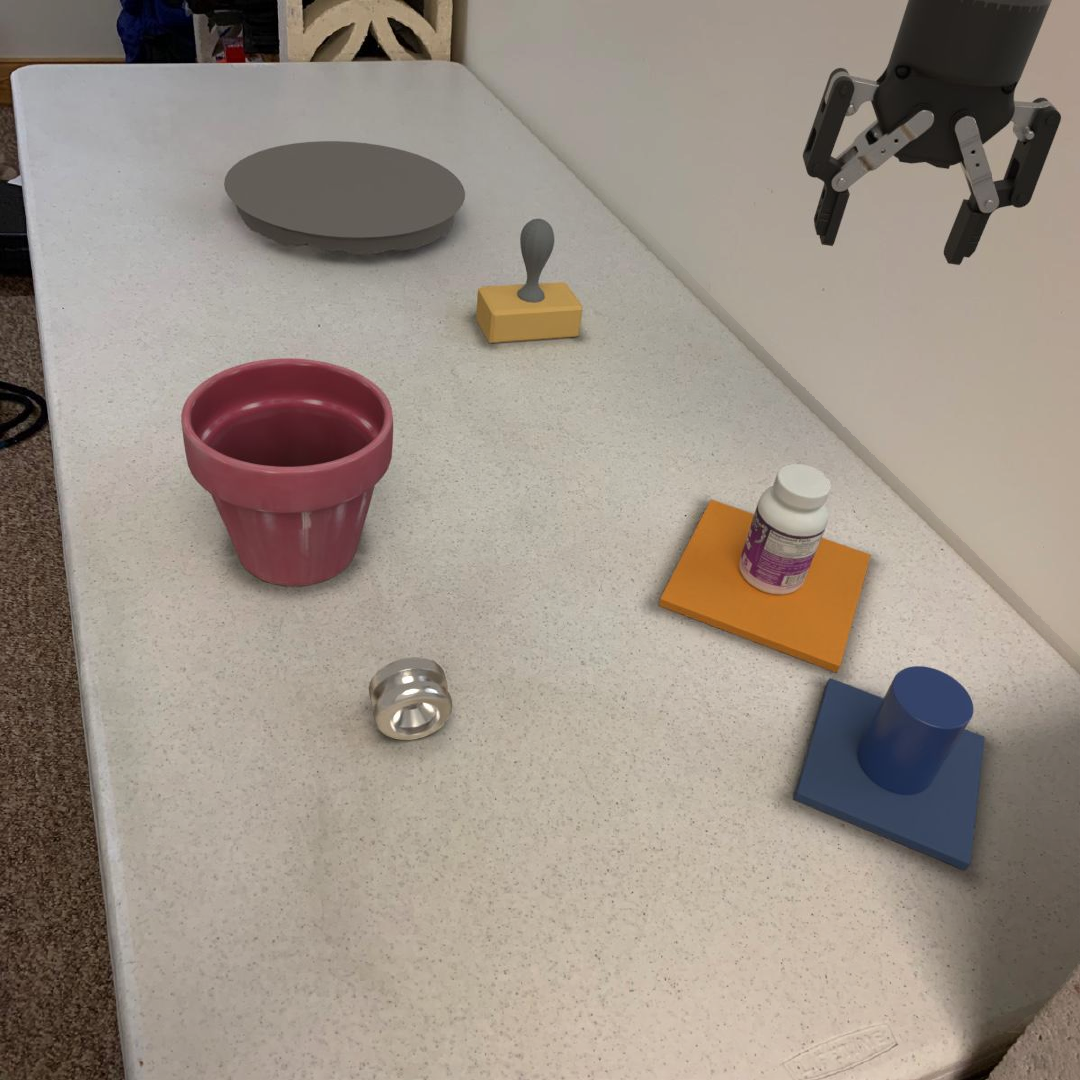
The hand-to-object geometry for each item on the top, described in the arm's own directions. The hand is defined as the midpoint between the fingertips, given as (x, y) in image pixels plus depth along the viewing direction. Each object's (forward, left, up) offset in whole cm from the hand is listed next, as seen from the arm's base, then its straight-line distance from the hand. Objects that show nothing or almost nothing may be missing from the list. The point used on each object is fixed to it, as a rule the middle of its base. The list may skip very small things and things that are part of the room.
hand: (888, 250), depth 67 cm
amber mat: (0, +6, -26) cm, 27 cm away
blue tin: (-12, +20, -25) cm, 34 cm away
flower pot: (+34, +21, -26) cm, 48 cm away
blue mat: (-12, +20, -26) cm, 35 cm away
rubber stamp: (+33, -20, -26) cm, 47 cm away
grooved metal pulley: (+18, +32, -26) cm, 45 cm away
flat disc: (+62, -31, -26) cm, 74 cm away
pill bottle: (0, +6, -26) cm, 26 cm away
